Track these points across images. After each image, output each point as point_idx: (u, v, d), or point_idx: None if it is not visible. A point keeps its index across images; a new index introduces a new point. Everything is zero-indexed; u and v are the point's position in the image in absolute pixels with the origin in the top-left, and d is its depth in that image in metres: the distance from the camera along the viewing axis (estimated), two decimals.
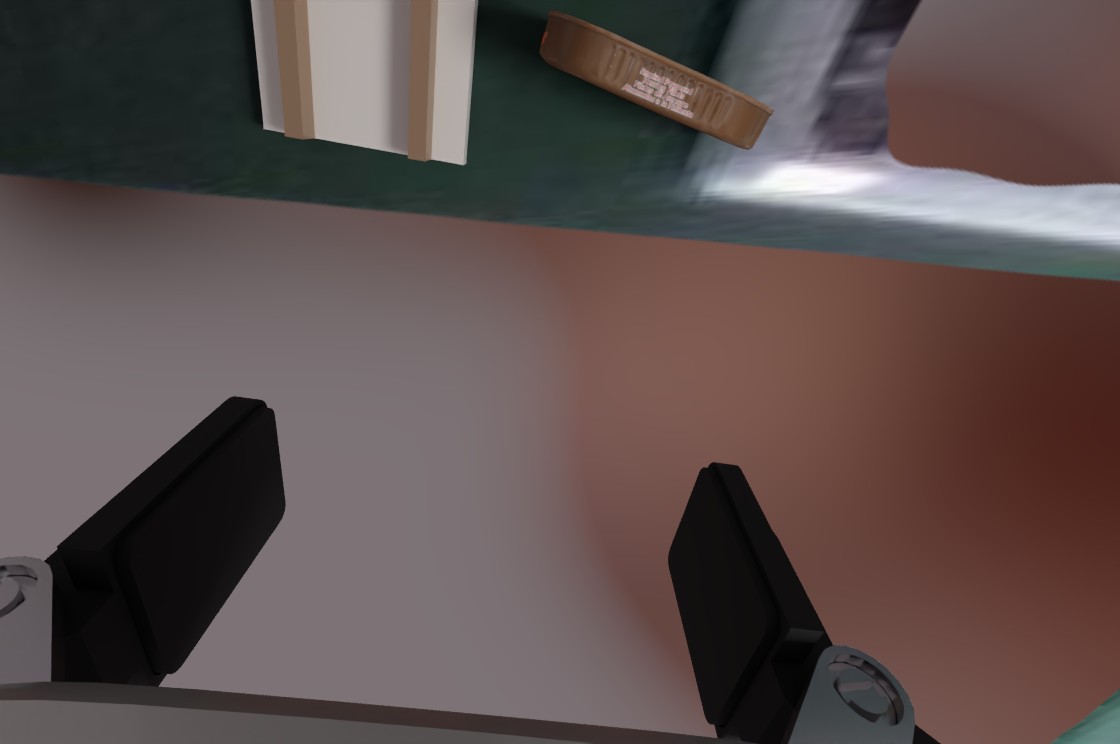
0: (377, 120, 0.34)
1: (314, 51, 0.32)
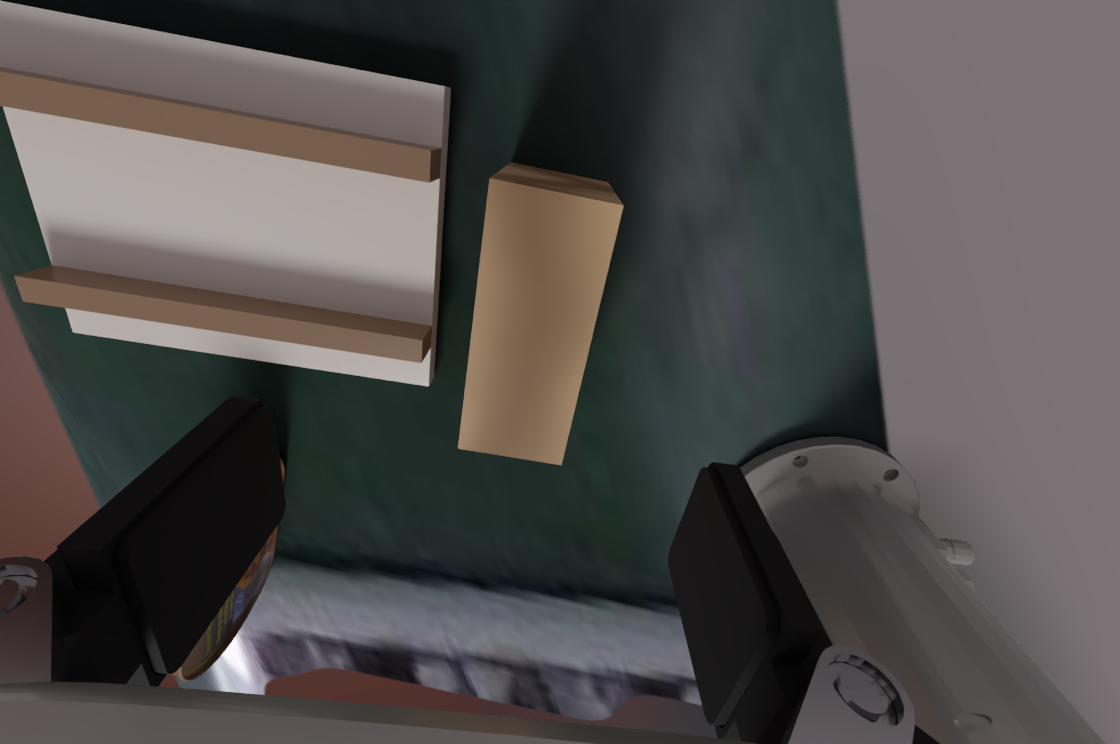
0: (79, 215, 0.22)
1: (135, 131, 0.21)
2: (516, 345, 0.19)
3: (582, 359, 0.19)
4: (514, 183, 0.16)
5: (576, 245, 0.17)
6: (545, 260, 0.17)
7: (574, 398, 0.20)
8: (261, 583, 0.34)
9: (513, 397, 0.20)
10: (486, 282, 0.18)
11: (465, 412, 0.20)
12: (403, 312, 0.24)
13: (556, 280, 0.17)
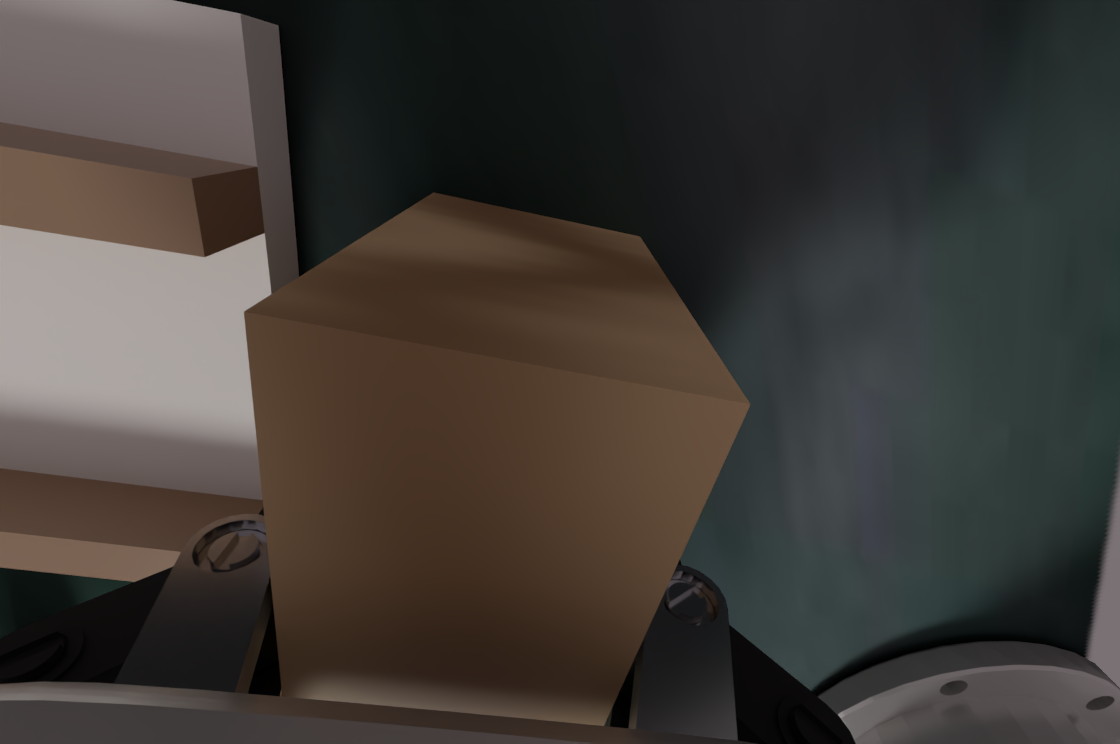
0: None
1: None
2: None
3: None
4: (345, 329, 0.04)
5: (577, 510, 0.05)
6: (477, 545, 0.05)
7: None
8: None
9: None
10: (299, 593, 0.06)
11: None
12: (235, 483, 0.12)
13: (515, 590, 0.06)
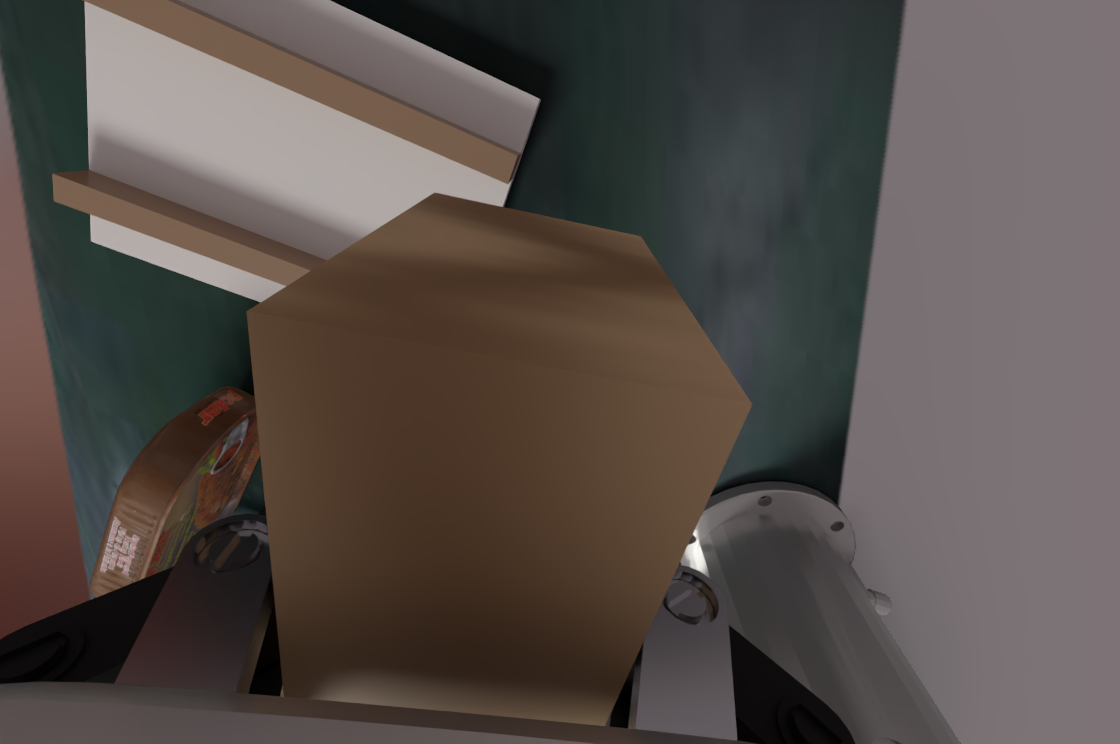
0: (134, 128, 0.22)
1: (221, 62, 0.20)
2: None
3: None
4: (348, 329, 0.04)
5: (580, 509, 0.05)
6: (478, 544, 0.05)
7: None
8: None
9: None
10: (302, 593, 0.06)
11: None
12: None
13: (516, 589, 0.06)
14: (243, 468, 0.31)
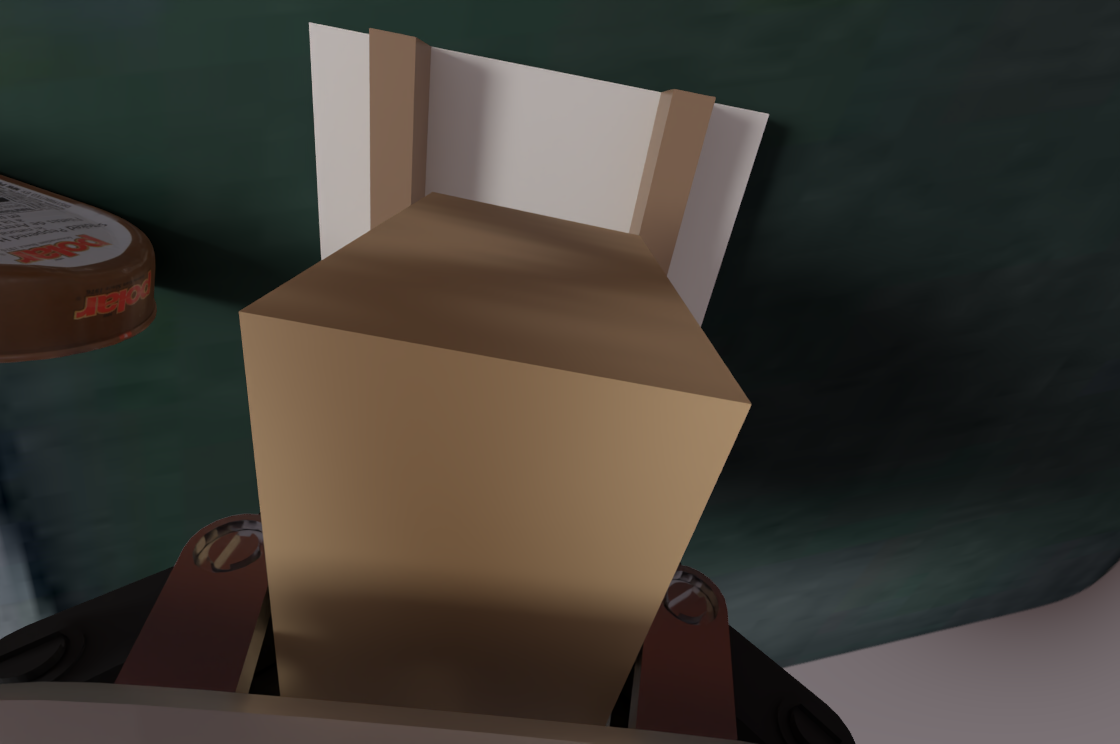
0: (511, 134, 0.15)
1: None
2: None
3: None
4: (341, 329, 0.04)
5: (577, 510, 0.05)
6: (475, 546, 0.05)
7: None
8: None
9: None
10: (297, 595, 0.06)
11: None
12: None
13: (514, 591, 0.06)
14: None
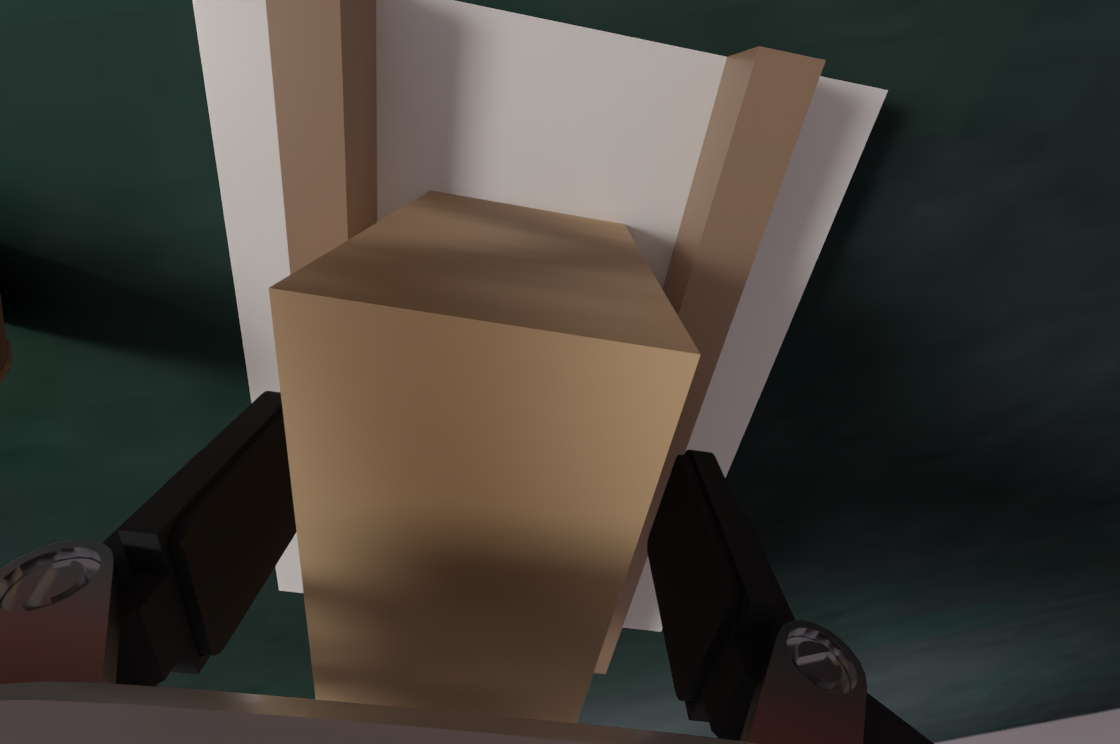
0: (501, 120, 0.10)
1: None
2: (422, 652, 0.08)
3: (583, 672, 0.08)
4: (353, 300, 0.05)
5: (559, 454, 0.06)
6: (473, 490, 0.06)
7: None
8: None
9: None
10: (321, 541, 0.07)
11: None
12: None
13: (509, 532, 0.06)
14: None
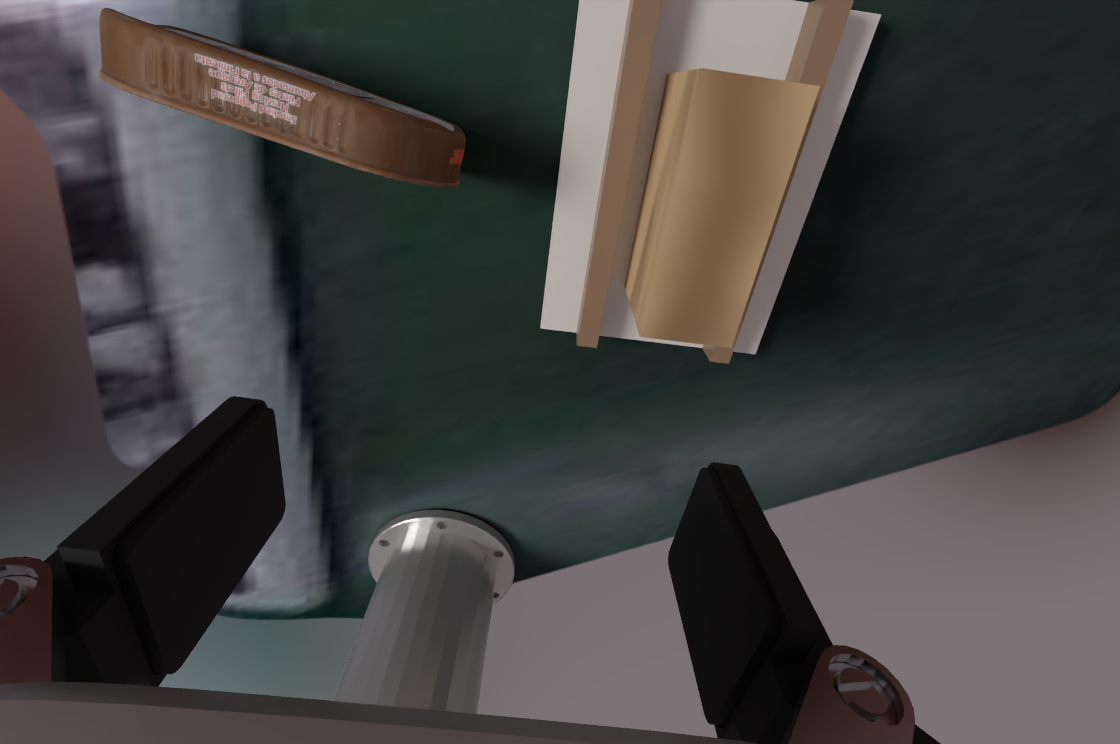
0: (704, 37, 0.23)
1: None
2: (705, 231, 0.21)
3: (763, 241, 0.21)
4: (723, 71, 0.18)
5: (772, 128, 0.19)
6: (741, 145, 0.19)
7: (751, 280, 0.22)
8: None
9: (696, 283, 0.22)
10: (686, 171, 0.20)
11: (650, 300, 0.22)
12: (606, 315, 0.30)
13: (749, 164, 0.20)
14: None
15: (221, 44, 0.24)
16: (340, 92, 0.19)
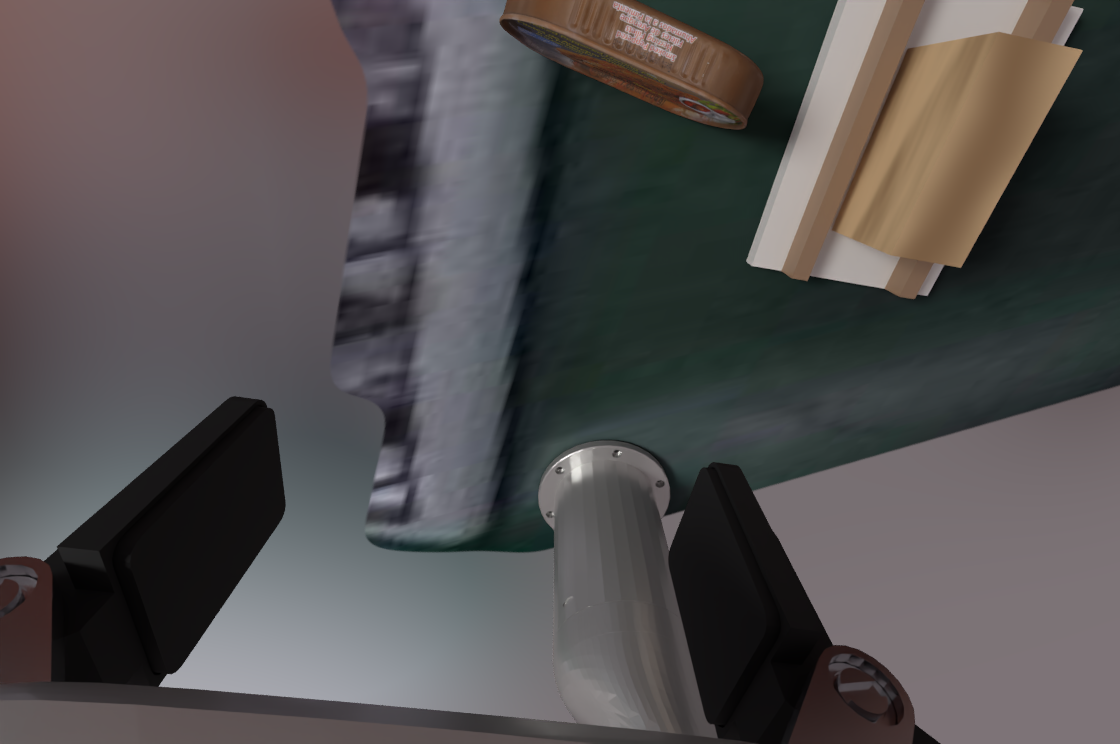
0: (943, 20, 0.29)
1: None
2: (966, 164, 0.26)
3: (1009, 175, 0.27)
4: (1013, 35, 0.24)
5: (1039, 82, 0.25)
6: (1012, 94, 0.25)
7: (992, 208, 0.27)
8: (534, 47, 0.30)
9: (948, 209, 0.27)
10: (965, 114, 0.25)
11: (907, 223, 0.28)
12: None
13: (1015, 110, 0.25)
14: (621, 81, 0.31)
15: None
16: (714, 38, 0.24)
